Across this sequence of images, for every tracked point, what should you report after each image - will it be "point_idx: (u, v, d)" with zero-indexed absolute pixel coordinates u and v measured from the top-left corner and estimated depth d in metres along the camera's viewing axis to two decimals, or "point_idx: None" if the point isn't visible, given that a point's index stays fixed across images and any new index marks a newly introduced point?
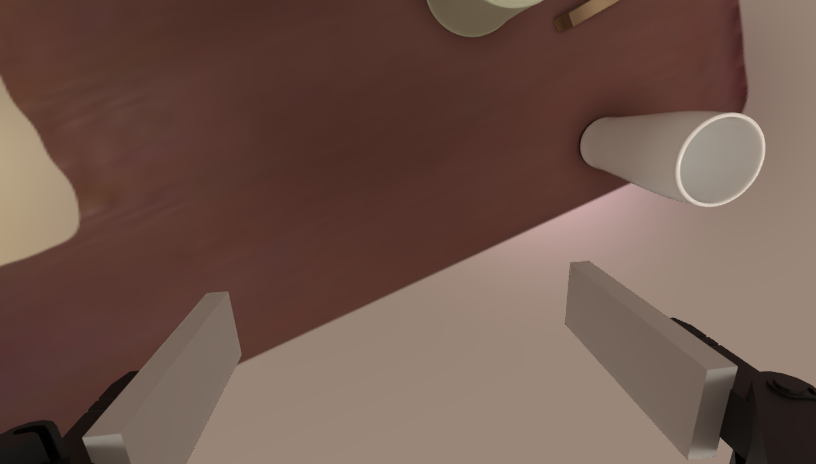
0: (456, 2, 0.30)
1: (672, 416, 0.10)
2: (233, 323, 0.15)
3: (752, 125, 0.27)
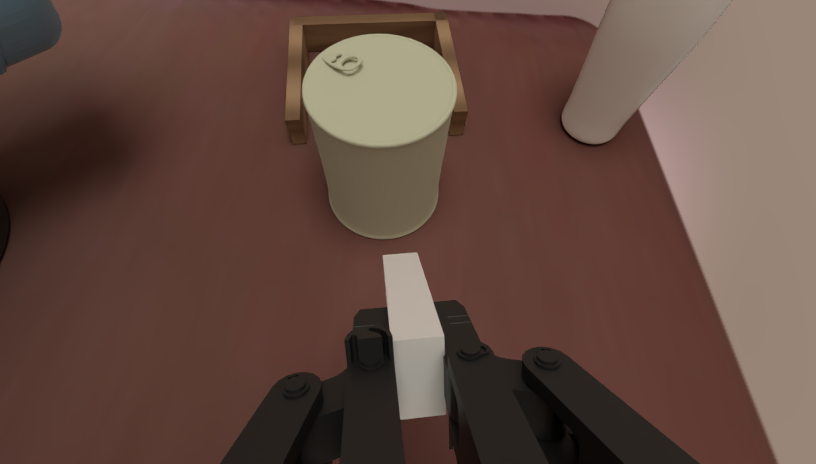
0: (409, 183, 0.25)
1: None
2: None
3: None
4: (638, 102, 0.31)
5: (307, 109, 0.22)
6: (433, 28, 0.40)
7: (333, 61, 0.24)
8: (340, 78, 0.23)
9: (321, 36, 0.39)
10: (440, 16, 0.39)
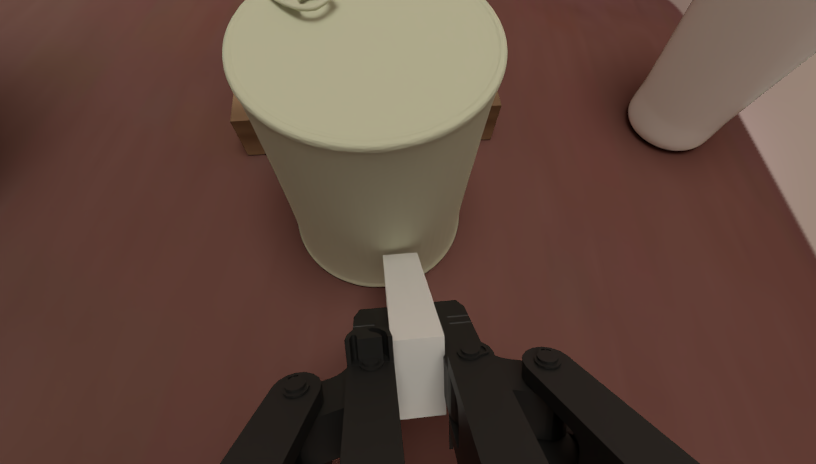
0: (420, 211, 0.15)
1: None
2: None
3: None
4: (765, 88, 0.20)
5: (228, 78, 0.12)
6: None
7: None
8: (295, 25, 0.13)
9: None
10: None
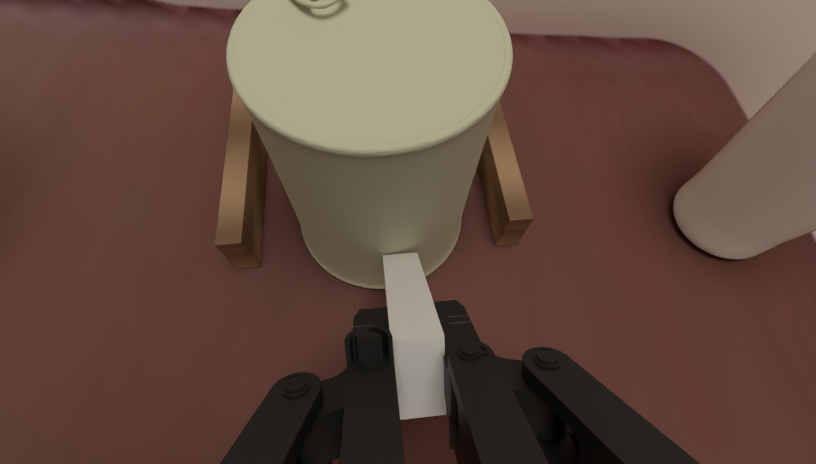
0: (409, 219, 0.15)
1: None
2: None
3: None
4: None
5: (228, 68, 0.12)
6: None
7: None
8: (303, 21, 0.13)
9: None
10: None
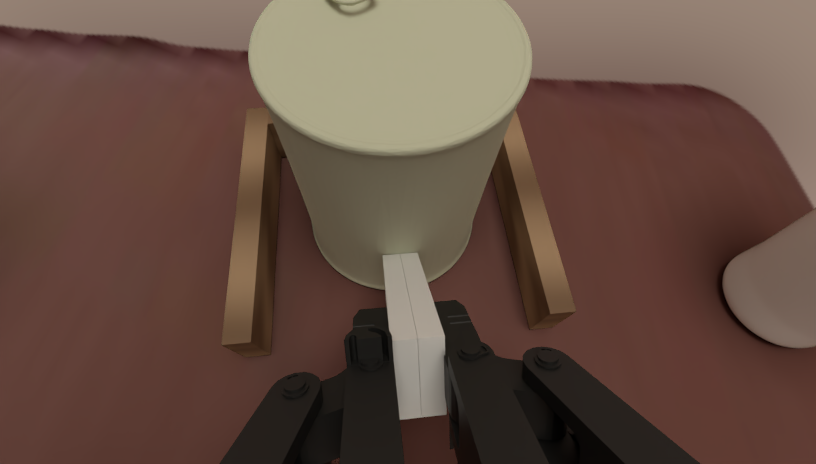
0: (406, 223, 0.15)
1: None
2: None
3: None
4: None
5: (249, 52, 0.12)
6: None
7: None
8: (330, 16, 0.13)
9: None
10: None
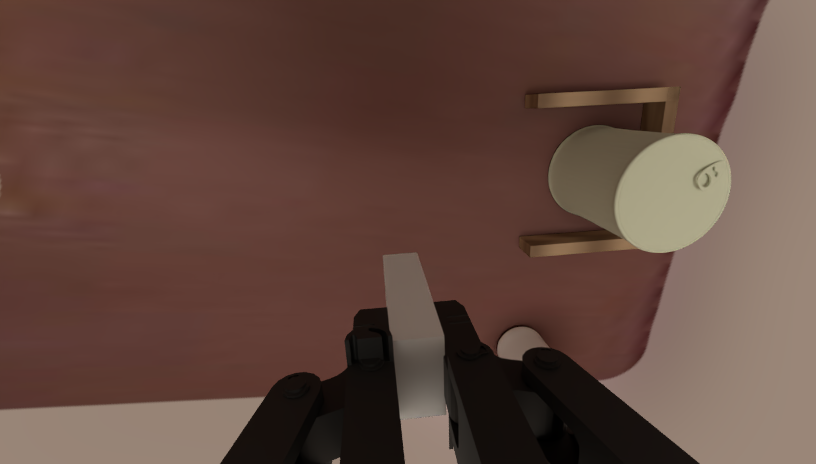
0: (586, 190, 0.33)
1: None
2: None
3: None
4: None
5: (680, 134, 0.28)
6: None
7: (713, 168, 0.29)
8: (694, 168, 0.29)
9: (653, 119, 0.37)
10: None
